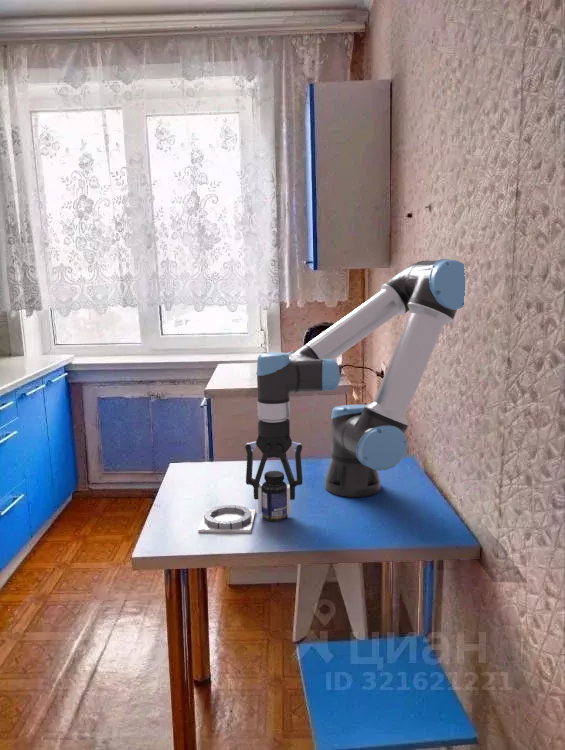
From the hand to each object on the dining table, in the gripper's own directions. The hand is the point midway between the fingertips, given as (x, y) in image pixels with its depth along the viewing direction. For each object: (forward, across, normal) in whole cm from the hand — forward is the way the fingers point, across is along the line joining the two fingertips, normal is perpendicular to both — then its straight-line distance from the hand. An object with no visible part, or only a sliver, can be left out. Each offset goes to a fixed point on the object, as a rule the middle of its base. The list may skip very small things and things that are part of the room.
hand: (274, 511), depth 143 cm
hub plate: (+2, +11, +3) cm, 11 cm away
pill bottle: (+2, 0, 0) cm, 2 cm away
